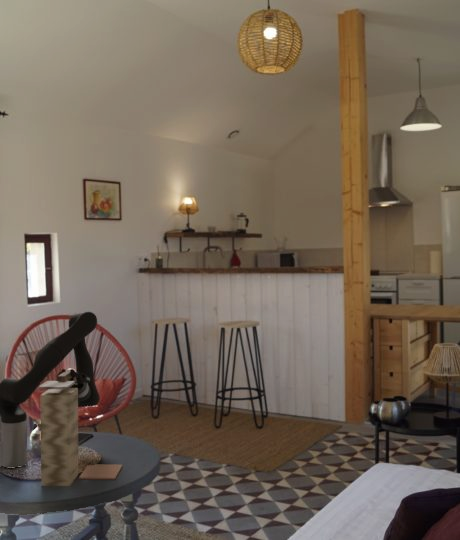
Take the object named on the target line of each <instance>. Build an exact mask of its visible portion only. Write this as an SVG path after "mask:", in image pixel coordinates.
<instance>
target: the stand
mask: <svg viewBox="0 0 460 540" xmlns="http://www.w3.org/2000/svg"><path fill="white" fill-rule="evenodd" d="M39 397H40V403H39V404H40V421H41V440H40V466H41V467H40V471H41V473H40V475H41V477H40V481H41V482H40V483H41V484H40V485H41V487H70V486H71V485H72V484H73V482H74V481H75V480H76V478H77V477H78V475H79V474H80V473H79V446H78V433H79V407H78V388H68V389H46V390H45V391H44V392H43V393H42V394H40V396H39Z"/></svg>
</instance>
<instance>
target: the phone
mask: <svg viewBox="0 0 460 540" xmlns="http://www.w3.org/2000/svg"><path fill="white" fill-rule="evenodd" d="M93 437H94V434H93V433H85V432H84V433H83V432H78V447H79V446H81V444H83V443H85V442H86V441H88V440H90V439H91V438H93Z"/></svg>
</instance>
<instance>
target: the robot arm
mask: <svg viewBox="0 0 460 540" xmlns="http://www.w3.org/2000/svg"><path fill="white" fill-rule="evenodd" d="M97 325H98V318H97V315H96V314H95V313H94V312H93V311H80V312H78V313H74V314H72V315H70V317H69V320H68V329H67V330H65V331H64V332H62V333H60V334H59V335H57V336H55V337H53V338H52V339H51V340H50V341H48V342H47V343H46V344H45V345H44V346H43V347H42V348H40V350H39V351H37V353H36V356H35V358H34V360H33V361H34V362H33V365H32V367H31V368H30V370H29V371H28V372H27V373H26V374H25V375H24V376H22V377H20V378H15V377H6V378H4V379H3V380H1V382H0V421H1V422H0V426H1V428H0V430H1V435H0V436H1V437H0V438H1V441H0V468H4V467H18V466H23V465H25V464H26V463H27V464H28V435H27V434H28V428H27V427H28V426H27V424H28V423H27V422H28V421H27V420H28V419H27V418H28V417H27V415H28V414H27V412H26V411H25V410H24V409H23V408H22V406H21V405H20V404H24V403H25V402H26V401H27V400H28V399H29V398H30V397H31V396H32V394H34V392H35V391H36V390H37V388H38V387H39V386H40V385H41V383H42V382H43V381H44V380H45V379H46V378H47V377H48V376H49V374H51V372H53V370H55V369H56V368H57V366H59V365H60V364H61V363H62V362H63V361H64V359H66V357H67V356H68V355H69V354H71V352H72V351H73V352H74V358H75V369H74V368H70V369H71V370H70V375H71V376H72V378H71V379H70V380H68V381H75V384H73V385H72V386H71V387H70V388H78V408H85V407H86V408H87V407H96V406H97V405H98V404H99V402H100V400H101V399H100V393H99V390H98V388H97V385H96V381H95V376H94V362H93V359H92V357H91V355H90V353H89V350H88V348H87V344H86V337H87V336H89V335H90V334H91V333H92V332H94V330H95V329H96V328H97ZM60 370H61V371H60V372H58V374H57V375H56V377H55V381H58V376H59V375H60V374H62V373H63V372H65V371H66V370H67V369H66V368H62V369H60ZM27 464H26V465H27ZM26 465H25V466H26ZM1 466H3V467H1ZM23 467H24V466H23Z"/></svg>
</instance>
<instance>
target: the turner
mask: <svg viewBox="0 0 460 540" xmlns="http://www.w3.org/2000/svg"><path fill="white" fill-rule="evenodd" d="M71 369H72V368H70V369H69V368H68V369H67V368H66V369H65V370H66V371H65V372H63V373H62V374H60V375H59V376H58V381H56V380H46V381H45V382H43V383H42V384H39V386H38V387H37V388H38V390H48V389H68V388H70V387H71V386H72V385H73V384H75V381H68V380H70V379H71V378H72V376H71V375H70V370H71Z"/></svg>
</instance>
